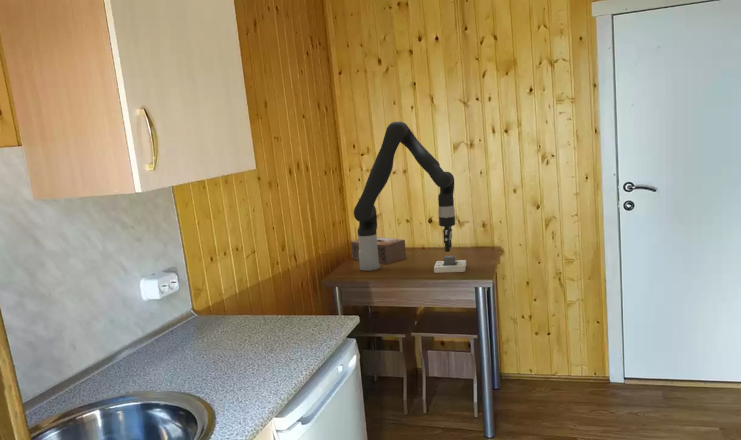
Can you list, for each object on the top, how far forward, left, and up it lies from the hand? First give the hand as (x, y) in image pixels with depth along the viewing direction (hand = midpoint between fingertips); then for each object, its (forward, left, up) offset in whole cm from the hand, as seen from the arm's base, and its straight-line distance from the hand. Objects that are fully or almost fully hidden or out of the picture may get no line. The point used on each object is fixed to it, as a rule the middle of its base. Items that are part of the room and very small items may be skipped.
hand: (448, 249), depth 272 cm
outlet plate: (0, 0, -9) cm, 9 cm away
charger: (0, 0, -9) cm, 9 cm away
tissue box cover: (-40, +27, -10) cm, 49 cm away
